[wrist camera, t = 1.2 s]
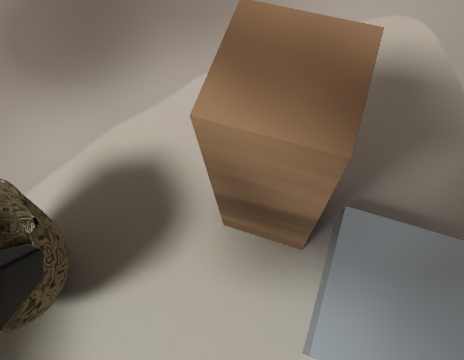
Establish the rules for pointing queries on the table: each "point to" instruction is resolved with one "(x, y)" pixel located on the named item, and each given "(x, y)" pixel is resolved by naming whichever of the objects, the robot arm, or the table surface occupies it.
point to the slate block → (388, 293)
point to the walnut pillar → (282, 115)
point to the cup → (37, 234)
